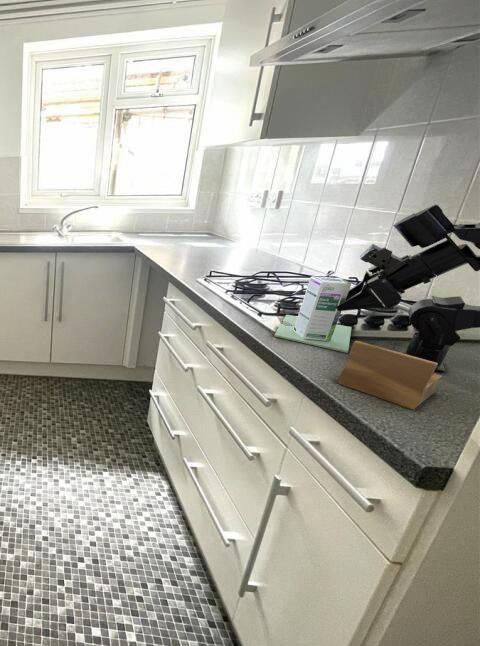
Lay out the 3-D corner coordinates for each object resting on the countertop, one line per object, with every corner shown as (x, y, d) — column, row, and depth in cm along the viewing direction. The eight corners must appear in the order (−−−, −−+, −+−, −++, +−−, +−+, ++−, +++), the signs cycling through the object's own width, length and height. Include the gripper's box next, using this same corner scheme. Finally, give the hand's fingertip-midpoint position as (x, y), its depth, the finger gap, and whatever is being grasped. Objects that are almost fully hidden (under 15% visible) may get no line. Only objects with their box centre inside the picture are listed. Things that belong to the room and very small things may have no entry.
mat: (285, 316, 117) (286, 314, 117) (350, 328, 108) (351, 327, 108) (274, 336, 103) (274, 334, 103) (347, 353, 95) (348, 351, 94)
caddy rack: (358, 370, 87) (375, 330, 83) (432, 394, 78) (454, 351, 74) (337, 383, 82) (354, 341, 78) (413, 410, 73) (436, 364, 69)
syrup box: (302, 339, 100) (323, 281, 94) (292, 330, 105) (311, 274, 100) (330, 342, 99) (353, 283, 93) (318, 333, 104) (339, 276, 98)
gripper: (398, 228, 93) (319, 269, 104) (401, 239, 80) (311, 284, 91) (433, 269, 91) (349, 305, 102) (442, 286, 78) (345, 326, 89)
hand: (338, 304), depth 96 cm, fingers open, 9 cm apart
